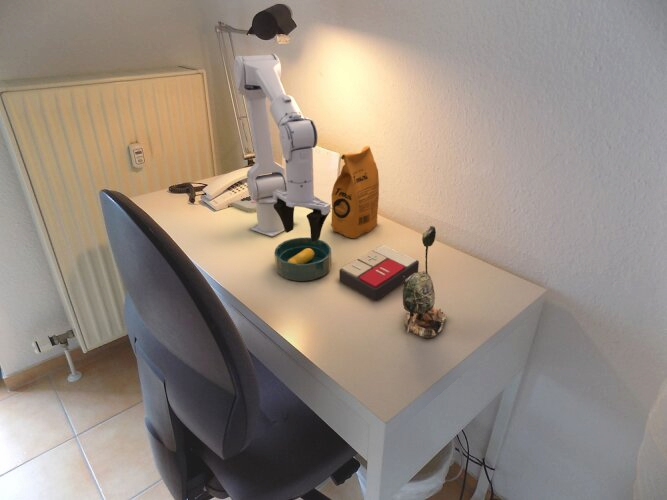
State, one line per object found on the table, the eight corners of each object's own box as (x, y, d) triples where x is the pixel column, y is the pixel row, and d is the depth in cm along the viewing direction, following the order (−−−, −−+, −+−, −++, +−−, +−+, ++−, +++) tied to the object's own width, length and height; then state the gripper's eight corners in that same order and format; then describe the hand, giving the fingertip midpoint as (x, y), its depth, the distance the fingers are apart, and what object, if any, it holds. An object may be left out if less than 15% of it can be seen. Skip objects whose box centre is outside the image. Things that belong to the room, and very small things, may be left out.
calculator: (338, 267, 95) (382, 241, 104) (338, 282, 97) (382, 256, 106) (375, 287, 88) (420, 258, 97) (375, 303, 91) (418, 273, 99)
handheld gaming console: (229, 200, 133) (264, 186, 144) (230, 205, 134) (265, 190, 144) (251, 208, 128) (286, 193, 138) (251, 213, 129) (286, 198, 139)
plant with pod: (385, 326, 83) (392, 234, 74) (425, 304, 89) (436, 216, 80) (416, 349, 78) (428, 253, 68) (456, 324, 84) (473, 232, 74)
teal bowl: (299, 248, 110) (298, 232, 108) (341, 263, 104) (341, 246, 102) (264, 270, 101) (263, 254, 99) (308, 288, 94) (308, 271, 92)
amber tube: (310, 258, 106) (305, 247, 106) (319, 256, 104) (314, 244, 104) (285, 275, 99) (279, 264, 99) (293, 273, 97) (288, 262, 97)
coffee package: (325, 230, 119) (324, 151, 108) (355, 216, 127) (357, 141, 116) (353, 241, 113) (355, 160, 102) (382, 226, 121) (386, 149, 110)
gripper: (261, 177, 93) (266, 233, 99) (316, 191, 85) (317, 251, 92) (283, 168, 98) (286, 222, 104) (336, 181, 90) (336, 238, 97)
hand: (302, 235), depth 99 cm, fingers open, 7 cm apart
